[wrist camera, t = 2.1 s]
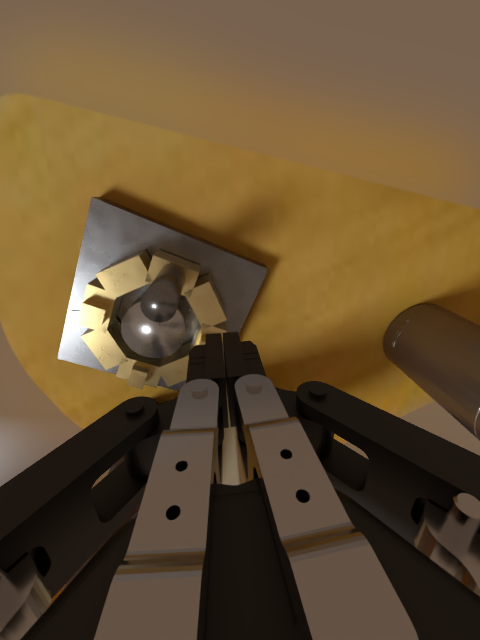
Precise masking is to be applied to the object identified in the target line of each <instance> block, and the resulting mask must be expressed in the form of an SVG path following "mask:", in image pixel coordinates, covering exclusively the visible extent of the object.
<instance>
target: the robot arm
mask: <svg viewBox="0 0 480 640" xmlns="http://www.w3.org/2000/svg"><path fill="white" fill-rule="evenodd" d="M223 349H224V356H223ZM384 351H385V353H386V356H387V357H388V358H389V359H390V360H391V361H392V362H393V363H394V364H395V365H396V366H397V367H398V368H400V369H401V370H402V371H403V372H404V373H405V374H406V375H407V376H408V377H409V378H410V379H412V380H413V381H414V382H415V383H416V384H417V385H418V386H419V387H420V388H422V389H423V390H424V391H425V392H426V393H427V394H428V395H429V396H430V397H432V398H433V399H434V400H435V401H436V402H437V403H438V404H439V405H441V406H442V407H443V408H444V409H445V410H446V411H447V412H448V413H450V414H451V415H452V416H453V417H454V418H455V419H456V420H457V421H458V422H459V423H460V424H462V425H463V426H464V427H465V428H466V429H467V430H468V431H469V432H470V433H472V434H473V435H474V436H475V437H476V438H477V439H478V440H479V441H480V326H479V325H477V324H475V323H473V322H471V321H469V320H467V319H465V318H463V317H461V316H459V315H457V314H454V313H452V312H450V311H448V310H446V309H444V308H442V307H439V306H437V305H433V304H421V305H417V306H414V307H412V308H409V309H407V310H406V311H404V312H403V313H401V314H400V315H399V316H398V317H397V318H396V319H395V320H394V321H393V322H392V323H391V325H390V326H389V328H388V330H387V332H386V334H385V338H384ZM224 364H225V366H224ZM226 386H227V391H226ZM227 396H228V407H229V417H230V427H236V430H237V444H238V449H239V454H240V459H241V463H242V468H243V473H244V477H245V483H242V484H240V485H226V484H222V478H223V440H224V428H229V422H228V407H227ZM334 434H336V435H338V436H340V437H341V438H343V439H345V440H346V441H348V442H350V443H351V444H353V445H355V446H357V447H358V448H360V449H361V450H362V451H364V452H365V454H366V455H367V456H368V458H369V460H368V459H366V458H365V457H363V456H362V455H360V454H358V453H356V452H355V451H353V450H352V449H350V448H348V447H347V446H345V445H343V444H342V443H340V442H338V441H337V440H335V439H333V438H334ZM123 456H124V461H123V462H122V463H121V464H119V465H118V466H117V467H116V468H115V469H114V470H113V471H111V472H110V473H109V474H108V475H107V476H106V477H105V478H104V479H102V480H101V481H100V482H99V483H98V484H97V485H96V486H94V487H93V488H92V486H93V484H94V483H95V481H96V480H97V479H98V478H99V477H100V476H101V475H102V474H103V473H104V472H106V471H107V470H108V469H109V468H110V467H111V466H113V465H114V464H115V463H116V462H117V461H118V460H120V459H121V458H122V457H123ZM333 487H334V488H333ZM91 488H92V489H91ZM140 503H141V505H140V509H139V510H138V511H137V512H136V513H134V514H133V515H132V516H130V517H129V518H128V519H127V520H126V521H125V522H124V523H123V524H122V522H123V521H124V520H125V519H126V518H127V517H128V516H129V515H130V514H131V513H132V512H133V511H134V510H135V508H136V507H137V506H138V505H139V504H140ZM121 524H122V525H121ZM120 525H121V526H120ZM119 526H120V527H119ZM118 527H119V528H118ZM117 528H118V529H117ZM116 529H117V530H116ZM115 530H116V531H115ZM114 531H115V532H114ZM113 532H114V534H113V535H112V536H111V537H110V538H109V536H110V535H111V534H112V533H113ZM108 538H109V539H108ZM107 539H108V540H107ZM106 540H107V541H106ZM105 541H106V543H105V544H104V545H103V546H102V547H101V548H100V549H99V551H98V552H97V553H96V554H95V555H94V556H93V557H92V559H91V560H90V561H89V562H88V563H87V564H86V565H85V566H84V568H83V569H82V570H81V571H80V572H79V573H78V574H77V576H76V577H75V578H74V579H73V580H72V581H71V582H70V583H69V585H68V586H67V587H66V588H65V589H64V590H63V592H62V593H61V594H60V595H59V596H58V597H57V598H56V599H55V601H54V602H53V603H52V604H51V605H50V603H51V599H52V598H53V596H55V595H56V593H57V592H58V591H59V590H60V589H61V588H62V587H63V586H64V585H65V584H66V583H67V582H68V581H69V579H70V578H71V577H72V576H73V575H74V574H75V573H76V572H77V571H78V570H79V569H80V568H81V567H82V565H83V564H84V563H85V562H86V561H87V560H88V559H89V558H90V557H91V556H92V555H93V554H94V553H95V552H96V550H97V549H98V548H99V547H100V546H101V545H102V544H103V543H104V542H105ZM0 640H480V456H479V455H477V454H475V453H473V452H470V451H468V450H466V449H464V448H462V447H460V446H458V445H456V444H454V443H451V442H449V441H447V440H445V439H443V438H441V437H439V436H437V435H434V434H432V433H430V432H428V431H426V430H424V429H421V428H419V427H418V426H415V425H413V424H411V423H409V422H407V421H405V420H403V419H400V418H398V417H396V416H394V415H392V414H390V413H388V412H386V411H384V410H381V409H379V408H377V407H375V406H373V405H371V404H369V403H367V402H364V401H362V400H360V399H358V398H356V397H354V396H352V395H350V394H347V393H345V392H343V391H341V390H339V389H337V388H335V387H333V386H330V385H328V384H326V383H323V382H318V381H310V382H305V383H303V384H301V385H300V386H299V387H298V388H297V392H294V391H287V390H282V389H279V388H276V387H274V385H273V383H272V381H271V380H270V379H269V378H267V377H266V374H265V371H264V368H263V365H262V362H261V359H260V356H259V353H258V350H257V346H256V345H254V344H253V343H252V342H251V341H243V342H240V338H239V334H238V332H225V333H223V346H222V336H221V333H213V334H206V343H205V345H195V346H194V347H193V348H192V349H191V350H190V352H189V360H188V368H187V377H186V384H185V385H183V386H182V388H181V389H180V392H179V395H178V397H177V398H175V399H173V400H171V401H168V402H166V403H162V404H159V405H157V403H156V401H155V400H154V399H152V398H149V397H135V398H131V399H128V400H126V401H124V402H123V403H121V404H120V405H118V406H117V407H115V408H114V409H112V410H111V411H109V412H108V413H107V414H105V415H104V416H102V417H101V418H99V419H98V420H96V421H95V422H94V423H92V424H91V425H89V426H88V427H86V428H85V429H83V430H82V431H81V432H79V433H78V434H76V435H75V436H73V437H72V438H70V439H69V440H67V441H66V442H65V443H63V444H62V445H60V446H59V447H57V448H56V449H54V450H53V451H52V452H50V453H49V454H47V455H46V456H44V457H43V458H42V459H40V460H39V461H37V462H36V463H34V464H33V465H31V466H30V467H29V468H27V469H26V470H24V471H23V472H21V473H20V474H18V475H17V476H15V477H14V478H13V479H11V480H10V481H8V482H7V483H5V484H4V485H2V486H1V487H0Z"/></svg>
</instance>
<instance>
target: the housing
mask: <svg viewBox="0 0 480 640" xmlns="http://www.w3.org/2000/svg"><path fill="white" fill-rule="evenodd" d="M158 249H159V250H162V251H164V252H167V253H169V254H172V255H174V256H177V257H180V258H182V259H185V260H187V261H190V262H192V263H195V264H198V265H200V271H199V275H198V277H197V279H198V278H200V277H203V276H205V275H207V274H209V275H210V277H211V279H212V281H213V283H214V285H215V288H216V290H217V292H218V294H219V296H220V298H221V301H222V303H223V305H224V307H225V309H226V316H227V320H226V326H227V332H238V334H239V333H240V331H241V328H242V326H243V324H244V322H245V320H246V318H247V315H248V313H249V311H250V309H251V307H252V305H253V302H254V300H255V298H256V296H257V294H258V292H259V289H260V287H261V285H262V283H263V281H264V279H265V276H266V274H267V272H268V270H269V269H268V268H267V267H266V266H265V265H263V264H261V263H259V262H256V261H254V260H251V259H249V258H246V257H244V256H242V255H239V254H237V253H234V252H232V251H229V250H227V249H225V248H222V247H220V246H217V245H215V244H212V243H210V242H208V241H205V240H203V239H200V238H198V237H195V236H193V235H191V234H188V233H186V232H183V231H181V230H178V229H176V228H174V227H171V226H169V225H166V224H164V223H161V222H159V221H157V220H154V219H152V218H149V217H147V216H144V215H142V214H140V213H137V212H135V211H132V210H130V209H127V208H125V207H123V206H120V205H118V204H115V203H113V202H110V201H108V200H106V199H103V198H101V197H92V198H91V203H90V208H89V212H88V217H87V222H86V227H85V231H84V236H83V241H82V245H81V250H80V255H79V260H78V264H77V269H76V274H75V279H74V283H73V288H72V293H71V297H70V302H69V307H68V312H67V316H66V321H65V326H64V330H63V335H62V340H61V345H60V349H59V354H58V359H62V360H65V361H69V362H73V363H76V364H80V365H84V366H88V367H91V368H95V369H99V370H102V371H106V372H110V373H114V374H117V371H118V368H119V365H120V364H119V365H117V366H115V367H112V368H110V369H107V370H105V369H104V367H103V366H102V365H101V363H100V362H99V360H98V359H97V358H96V356H95V355H94V354H93V352H92V351H91V350H90V348H89V347H88V346H87V344H86V343H85V342H84V340H83V339H82V338H81V335H82V334H83V333H84V332H85V331H86V330H87V329H88V328H87V327H83V326H80V325H78V321H79V319H78V318H79V314H80V310H81V305H82V303H83V300H84V295H85V291H86V286H87V284H88V283H89V282H91V281H92V280H93V279H95V278H96V277H97V276H96V275H95V274H97V273H98V272H99V271H101V270H102V269H104V268H105V267H107V266H109V265H112V264H114V263H116V262H118V261H121V260H123V259H125V258H127V257H130V256H132V255H134V254H137V253H139V252H141V251H143V250H146V251H147V253H148V255H149V256H150V258H151V260H152V257H153V255H154V254H155V253H156V252H157V250H158ZM150 285H151V284H150V283H149V284H147V285H144V286H142V287H140V288H137V289H135V290H133V291H130V292H128V293H126V294H123V295H122V299H121V302H120V306H119V309H118V313H117V316H116V318H117V319H118V321H119V323H120V324H121V333H122V337H123V339H124V341H125V343H126V344H127V345H128V346H129V347H130V348H131V349H132V350H133V351H134V352H136V353H138V354H140V355H142V356H145V357H149V358H162V357H166V356H169V355H171V354H173V353H174V352H175V351H177V350H178V349H179V348H180V346H182V345H184V344H187V343H189V342H191V341H192V339H193V337H194V334H195V332H196V329H197V327H198V324H199V321H198V319H197V317H196V315H195V313H194V311H193V309H192V307H191V305H190V303H189V301H188V300H187V298H186V296H184V295H181V296H180V300H179V303H178V307H177V310H176V313H175V315H174V316H173V317H172V318H171V319H170V320H168V321H166V322H154V321H151V320H149V319H148V318H147V317H146V316H145V315H144V314H143V312H142V310H141V307H140V302H141V299H142V297H143V295H144V294H145V292H146V291H147V289H148V288H149V286H150ZM222 346H223V342H222ZM223 356H224V349H223ZM224 365H225V364H224ZM185 384H186V380H184V381H182V382H179V383H177V384H174V385H172V386H169V387H168V386H167V385H166V383H165V381H164V380H163V378H162V377H160V379H159V382H158V386H162V387H166V388H169V389H173V390H177V391H180V389H181V388H182V386H183V385H185Z"/></svg>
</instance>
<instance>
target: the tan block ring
mask: <svg viewBox="0 0 480 640" xmlns="http://www.w3.org/2000/svg"><path fill="white" fill-rule="evenodd" d="M199 271H200V265H198V264H195V263H192V262H190V261H187V260H185V259H182V258H180V257H177V256H174V255H172V254H169V253H167V252H164V251H162V250H159V249H158V250H157V252H156V253H155V254H154V255H153V257H152V260H151V258H150V256H149V255H148V253H147V251H146V250H143V251H141V252H139V253H137V254H134V255H132V256H130V257H127V258H125V259H123V260H121V261H118V262H116V263H114V264H112V265H109V266H107V267H105V268H104V269H102V270H101V271H99V272H98V273H97V274H95V275H96V276H97V277H96V278H95V279H93V280H92V281H91V282H89V283H88V284H87V286H86V291H85V295H84V300H83V303H82V305H81V310H80V314H79V318H78V319H79V321H78V325H80V326H83V327H87V328H88V329H87V330H86V331H85V332H84V333H83V334H82V335H81V338H82V339H83V340H84V342H85V343H86V344H87V346H88V347H89V348H90V350H91V351H92V352H93V354H94V355H95V356H96V358H97V359H98V360H99V362H100V363H101V365H102V366H103V367H104V369H105V370H107V369H110V368H112V367H115V366H117V365H119V364H120V365H119V368H118V371H117V375H116V377H119V378H122V379H126V380H128V382H127V385H129V386H133V387H136V388H140V389H143V386H144V384H145V385H149V386H152V387H157V385H158V382H159V379H160V377H162V378H163V380H164V381H165V383H166V385H167V386H168V387H169V386H172V385H174V384H177V383H179V382H182V381H184V380H186V377H187V368H188V360H189V352H190V350H191V349H192V348H193V347H194V346H195V345H205V343H206V334H213V333H221V336H222V342H223V333H225V332H227V326H226V320H227V316H226V309H225V307H224V305H223V303H222V301H221V298H220V296H219V294H218V292H217V290H216V288H215V285H214V283H213V281H212V279H211V277H210V275H209V274H207V275H205V276H203V277H200V278H198V279H197V277H198V275H199ZM149 283H150V284H151V285H150V286H149V288H148V289H147V291H146V292H145V294H144V295H143V297H142V299H141V302H140V307H141V310H142V312H143V314H144V315H145V316H146V317H147V318H148V319H149V320H151V321H154V322H166V321H168V320H170V319H171V318H172V317H173V316H174V315H175V313H176V310H177V307H178V303H179V300H180V296H181V295H184V296H186V298H187V300H188V301H189V303H190V305H191V307H192V309H193V311H194V313H195V315H196V317H197V319H198V321H199V324H198V327H197V329H196V332H195V334H194V337H193V339H192V341H191V342H189V343H187V344H184V345H182V346H180V348H179V349H178V350H177V351H175V352H174V353H173V354H171V355H169V356H166V357H162V358H149V357H145V356H142V355H140V354H138V353H136V352H134V351H133V350H132V349H131V348H130V347H129V346H128V345H127V344H126V343H125V341H124V339H123V337H122V333H121V324H120V323H119V321H118V319H117V318H116V316H117V313H118V309H119V306H120V302H121V299H122V295H123V294H126V293H128V292H130V291H133V290H135V289H137V288H140V287H142V286H144V285H147V284H149Z"/></svg>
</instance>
